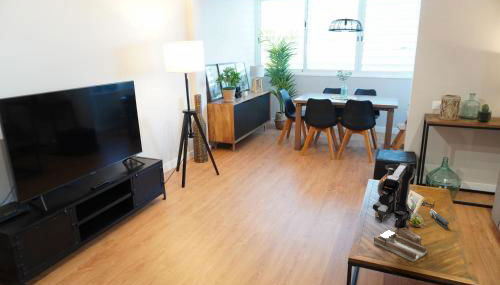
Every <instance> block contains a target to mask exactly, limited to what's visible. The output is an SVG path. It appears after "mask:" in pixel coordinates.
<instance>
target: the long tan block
mask: <svg viewBox="0 0 500 285" xmlns="http://www.w3.org/2000/svg"><path fill="white" fill-rule="evenodd" d="M397 234H399V236H400V237H403V238H405V239H407V240H410V241H412V242H414V243H416V244H419V245H421V246H422V240H423V239H422V237H421V236H420V235H418V234H416V233H415V232H414V231H412V230H410V229H409V228H408V227H407V228H406V227H405V228H398V233H397Z"/></svg>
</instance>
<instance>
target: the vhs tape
mask: <svg viewBox="0 0 500 285" xmlns="http://www.w3.org/2000/svg"><path fill="white" fill-rule="evenodd" d="M422 201H423V200H422ZM424 201H425V200H424ZM424 201H423V203H422V202H421V203H422V205H421V206H424V207H427V208H431V209H434V206H435V203H436V202H435V203H434V206H433V205H430V204H428V203H427V202H428V201H425V202H424Z"/></svg>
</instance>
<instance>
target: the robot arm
mask: <svg viewBox="0 0 500 285" xmlns="http://www.w3.org/2000/svg"><path fill="white" fill-rule="evenodd" d="M398 165H399V167H398V168H397V169H396V171H395V172H394V173H393V175H390V176H388V177H387V178H386V179H385V180H384V183H383V186H382V189H381V190H383V191H384V192H383V194H382V195H381V196H379V197H378V199H379V202H380V203H379V202H378V201H377V202H378V203H377V202H376V203H374V204H373V205H372V210H374V212H375V211H376V212H377V213H378V215H379V217H378V218H379V221H380V223H382V222H383V219H384V218H383V216H385V217H386V216H387V215H389V216H390V215H392V214H393V216H394V220H395V221H394V225H393V226H394V228H398V229H400V228H405V227H406V228H407V229H408V228H409V227H410V225H409V224H408V221H410V220H411V219H412V213H411V211H410V206H409V204H408V201H409V196H408V194H409V195H410V185H411V180H412V179H413V178H414V177H415V175H416V172H417V170H416V168H415V167H414V166H412V165H411V164H408V163H403V162H400V163H399V164H398ZM401 178H402V185H401V192H400V199H399V203H398V204H397V205H396V203H397V201H396V194H397V192H398V190H399V187H400V179H401ZM385 186H386V187H388V188H385Z"/></svg>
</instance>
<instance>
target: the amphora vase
mask: <svg viewBox="0 0 500 285" xmlns="http://www.w3.org/2000/svg"><path fill="white" fill-rule="evenodd" d="M398 167H399V164H392V163H391V164H387V165H385V169H386V170H387V173H386V174H385V175H384V176H382V178H381V179H379V182H378V184H377V187H376V188H377V189H376V192H377V194H378V196H379V197H380V196H381V195H382V194H383V192H384V191H383V190H381V189H382V186H383V183H384V180H385V179H386V178H387V177H388V176H390V175H393V173H394V172H395V171H396V169H397V168H398ZM401 185H402V178H401V179H400V187H399V190H398V192H397V194H396V201H397V203H396V205H397V204H398V203H399V199H400V192H401ZM385 188H388V187H386V186H385ZM408 195H409V196H410V193H409V194H408Z"/></svg>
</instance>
